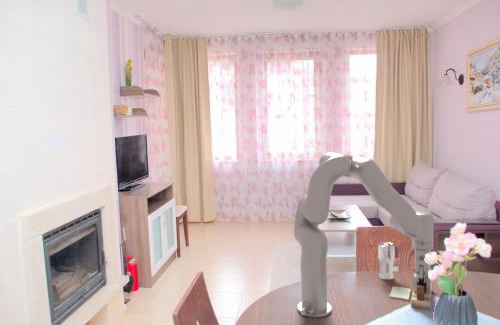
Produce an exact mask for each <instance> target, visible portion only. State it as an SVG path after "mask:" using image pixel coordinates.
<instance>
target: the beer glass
mask: <svg viewBox="0 0 500 325" xmlns="http://www.w3.org/2000/svg"><path fill="white" fill-rule="evenodd" d="M395 250H396V249H395V244H394V243H391V242H386V241H384V242H383V241H382V242H379V243H378V246H377V257H378V264H379V273H378V274H379V275H378V277H379V278H380V279H382V280H384V281H391V280H393V279H394V271H393V268H394V263H395V256H396V254H395V253H396V252H395Z"/></svg>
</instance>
